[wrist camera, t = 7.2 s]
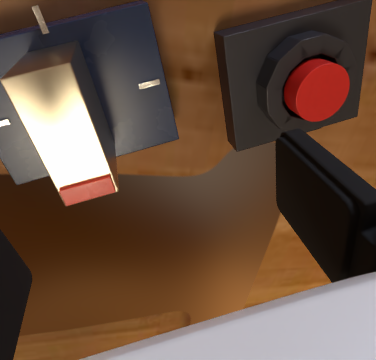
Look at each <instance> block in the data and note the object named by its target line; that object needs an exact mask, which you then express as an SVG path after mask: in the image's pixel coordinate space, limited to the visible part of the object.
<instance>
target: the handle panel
mask: <svg viewBox="0 0 376 360" xmlns="http://www.w3.org/2000/svg"><path fill="white" fill-rule="evenodd" d="M32 9H33V12H34V14H35V17H36V19H37V21H38V24H39V25H36V26H32V27H28V28H23V29H19V30H15V31H11V32H7V33H3V34H0V79H1V78H2V77H3V76H4V75H5V74H6V73H7V72H8V71H9V70H10V69H11V68H12V67H13V66H14V65H15V64H16V63H17V62H18V61H19V60H20V59H21V58H22V57H23V56H24V55H25V54H26V53H27V52H31V51H35V50H39V49H44V48H48V47H52V46H56V45H61V44H65V43H69V42H73V41H78V42H79V44H80V47H81V50H82V53H83V55H84V58H85V61H86V64H87V67H88V70H89V72H90V75H91V78H92V81H93V84H94V87H95V89H96V92H97V95H98V98H99V101H100V104H101V106H102V109H103V112H104V115H105V118H106V121H107V123H108V126H109V129H110V132H111V135H112V138H113V141H114V143H115V152H116V157H117V156H121V155H124V154H128V153H131V152H135V151H138V150H142V149H146V148H149V147H153V146H156V145H160V144H163V143H167V142H170V141H174V140H177V139H179V136H178V132H177V128H176V123H175V119H174V115H173V110H172V106H171V102H170V97H169V93H168V89H167V84H166V80H165V76H164V71H163V67H162V63H161V59H160V54H159V50H158V46H157V41H156V37H155V33H154V28H153V24H152V20H151V15H150V11H149V7H148V3H147V2H144V1H142V0H139V1H135V2H131V3H127V4H123V5H119V6H114V7H110V8H106V9H102V10H98V11H94V12H90V13H86V14H81V15H77V16H73V17H69V18H65V19H61V20H57V21H52V22H48V23H46V22H45V20H44V17H43V15H42V13H41V10H40V8H39V5H36V6H32ZM0 159H1V161H2V162H3V164H4V165H5V167H6V169H7V170H8V172H9V173H10V175H11V177H12V178H13V180H14V181H15V183H16V184H17V185H19V184H23V183H26V182H29V181H33V180H36V179H40V178H43V177H47V176H49V174H48V172H47V170H46V168H45V166H44V164H43V162H42V160H41V158H40V156H39V155H38V153H37V151H36V149H35V147H34V145H33V143H32V141H31V139H30V137H29V135H28V133H27V132H26V130H25V128H24V126H23V124H22V122H21V120H20V118H19V116H18V114H17V112H16V110H15V108H14V107H13V105H12V103H11V101H10V99H9V97H8V95H7V93H6V91H5V89H4V87H3V85H2V84H1V82H0Z"/></svg>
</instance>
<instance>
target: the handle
mask: <svg viewBox="0 0 376 360" xmlns="http://www.w3.org/2000/svg"><path fill="white" fill-rule="evenodd" d="M0 82H1V84H2V85H3V87H4V89H5V91H6V93H7V95H8V97H9V99H10V101H11V103H12V105H13V107H14V108H15V110H16V112H17V114H18V116H19V118H20V120H21V122H22V124H23V126H24V128H25V130H26V132H27V133H28V135H29V137H30V139H31V141H32V143H33V145H34V147H35V149H36V151H37V153H38V155H39V156H40V158H41V160H42V162H43V164H44V166H45V168H46V170H47V172H48V174H49V176H50V178H51V180H52V181H53V183H54V185H55V187H56V189H57V191H58V193H59V195H60V197H61V199H62V201H63V203H64V204H65V206H69V205H73V204H76V203H80V202H83V201H86V200H90V199H94V198H97V197H101V196H104V195H108V194H111V193H115V192H118V191H119V185H118V174H117V163H116V152H115V143H114V141H113V138H112V135H111V132H110V129H109V126H108V123H107V121H106V118H105V115H104V112H103V109H102V106H101V104H100V101H99V98H98V95H97V92H96V89H95V87H94V84H93V81H92V78H91V75H90V72H89V70H88V67H87V64H86V61H85V58H84V55H83V53H82V50H81V47H80V44H79V42H78V41H73V42H69V43H65V44H61V45H56V46H52V47H48V48H44V49H39V50H35V51H31V52H27V53H26V54H25V55H24V56H23V57H22V58H21V59H20V60H19V61H18V62H17V63H16V64H15V65H14V66H13V67H12V68H11V69H10V70H9V71H8V72H7V73H6V74H5V75H4V76H3V77H2V78H1V79H0Z"/></svg>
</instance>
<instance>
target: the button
mask: <svg viewBox="0 0 376 360" xmlns="http://www.w3.org/2000/svg"><path fill="white" fill-rule="evenodd" d="M349 87H350V80H349V76H348V73H347V71H346V70H345V69H344V68H343V67H342V66H340V65H338V64H336V63H333V62H330V61H327V60H324V59H321V58H312V59H309V60H306V61H304V62H302V63H301V64H299V65H298V66H297V67H296V68H295V69H294V70H293V71H292V72H291V74H290V75H289V77H288V79H287V81H286V84H285V88H284V99H285V103H286V105H287V106H288V108H289V109H290V110H291V111H293V112H294V113H296V114H297V115H299V116H300V117H302V118H303V119H305V120H307V121H311V122H316V121H322V120H324V119H327V118H329V117H330V116H332V115H333V114H334V113H335V112H337V111H338V110H339V108H340V107H341V106H342V105H343V103H344V101H345V99H346V97H347V95H348V92H349Z"/></svg>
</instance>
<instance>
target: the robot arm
mask: <svg viewBox="0 0 376 360" xmlns="http://www.w3.org/2000/svg"><path fill="white" fill-rule="evenodd" d="M276 201H277V206H278V208H279V210H280V212H281V213H282V214H283V216H284V217H285V219H286V220H287V221H288V223H289V224H290V225H291V227H292V228H293V230H294V231H295V232H296V234H297V235H298V236H299V238H300V239H301V241H302V242H303V243H304V245H305V246H306V247H307V249H308V250H309V252H310V253H311V254H312V256H313V257H314V258H315V260H316V261H317V263H318V264H319V265H320V267H321V268H322V269H323V271H324V272H325V274H326V275H327V276H328V278H329V279H330V280H331V282H332V283H330V284H327V285H323V286H320V287H316V288H313V289H309V290H306V291H302V292H299V293H295V294H292V295H289V296H285V297H282V298H279V299H275V300H272V301H269V302H266V303H262V304H259V305H256V306H252V307H249V308H246V309H242V310H239V311H236V312H232V313H229V314H226V315H223V316H219V317H216V318H213V319H209V320H206V321H203V322H200V323H196V324H193V325H190V326H186V327H183V328H180V329H177V330H173V331H170V332H167V333H164V334H160V335H157V336H154V337H151V338H147V339H144V340H141V341H138V342H134V343H131V344H128V345H125V346H122V347H118V348H115V349H112V350H109V351H105V352H102V353H99V354H96V355H92V356H89V357H86V358H83V359H80V360H376V189H375V188H373V187H372V186H371V185H370V184H368V183H367V182H366V181H365V180H363V179H362V178H361V177H360V176H358V175H357V174H356V173H355V172H353V171H352V170H351V169H350V168H349V167H347V166H346V165H345V164H344V163H342V162H341V161H340V160H339V159H337V158H336V157H335V156H334V155H332V154H331V153H330V152H329V151H327V150H326V149H325V148H324V147H322V146H321V145H320V144H319V143H317V142H316V141H315V140H314V139H312V138H311V137H310V136H309V135H308V134H306V133H305V132H304V131H303V130H301V129H300V128H297V129H293V130H289V131H286V132H282V133H281V135H280V138H277V139H276ZM31 283H32V274H31V271H30V270H29V268H28V267H27V266H26V264H25V263H24V261H23V260H22V259H21V257H20V256H19V255H18V253H17V252H16V250H15V249H14V248H13V246H12V245H11V243H10V242H9V241H8V239H7V238H6V236H5V235H4V234H3V232H2V231H1V230H0V360H13V357H14V353H15V349H16V345H17V341H18V337H19V333H20V329H21V324H22V320H23V316H24V312H25V308H26V303H27V300H28V295H29V291H30V287H31Z"/></svg>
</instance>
